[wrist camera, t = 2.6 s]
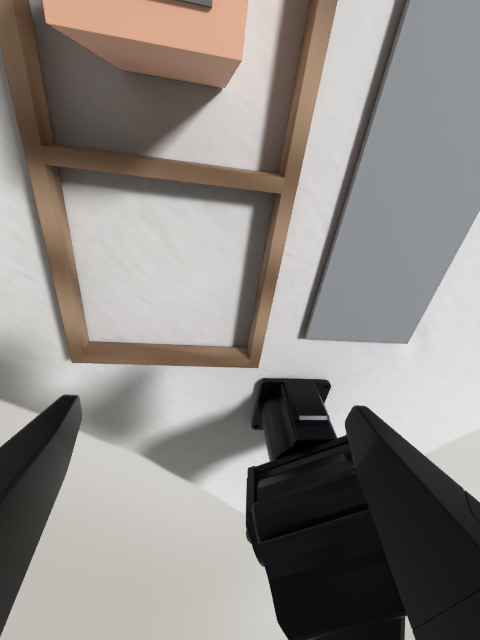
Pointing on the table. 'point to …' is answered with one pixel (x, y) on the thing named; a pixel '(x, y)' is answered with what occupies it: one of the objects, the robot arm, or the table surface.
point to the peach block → (158, 35)
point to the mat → (408, 181)
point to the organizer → (44, 158)
